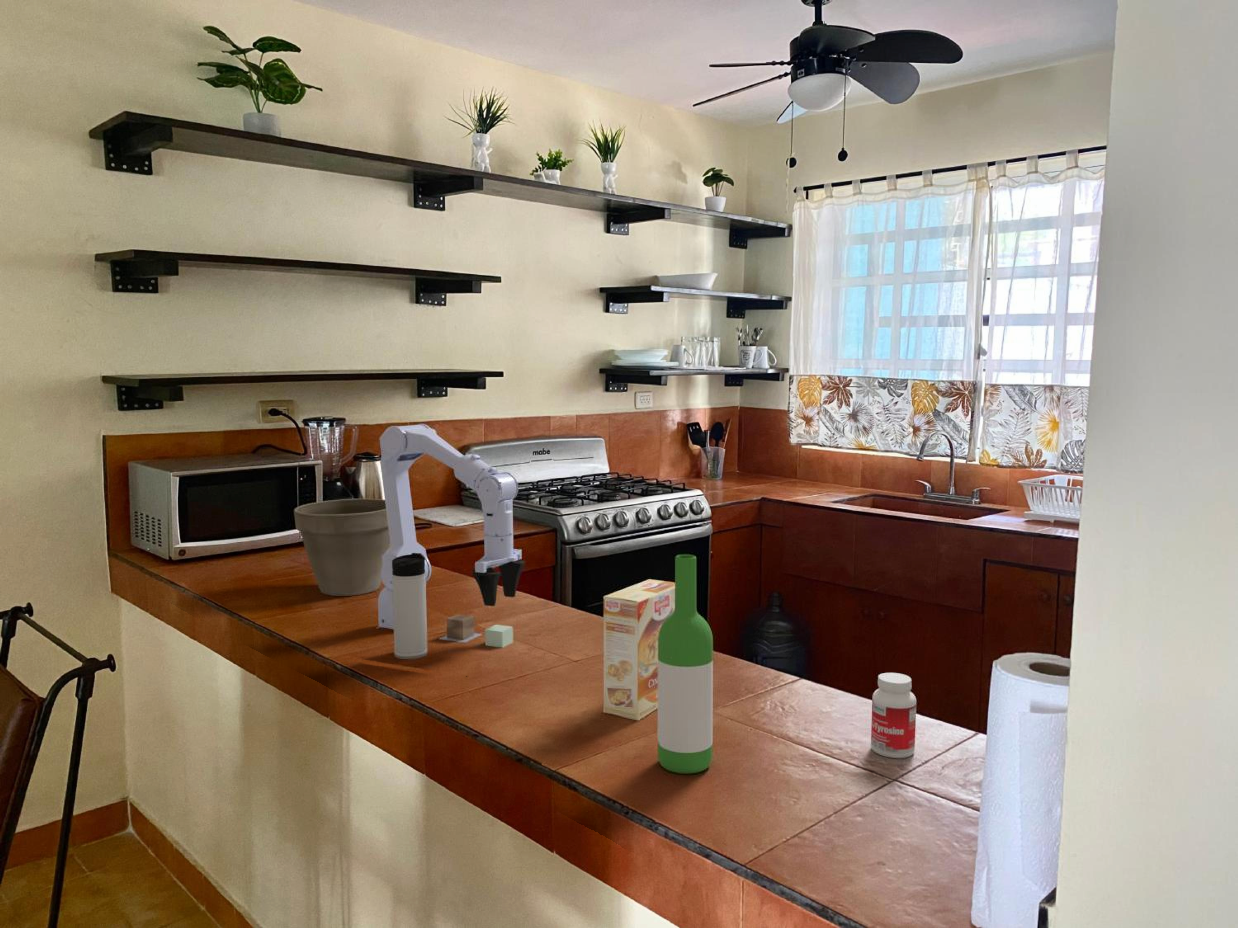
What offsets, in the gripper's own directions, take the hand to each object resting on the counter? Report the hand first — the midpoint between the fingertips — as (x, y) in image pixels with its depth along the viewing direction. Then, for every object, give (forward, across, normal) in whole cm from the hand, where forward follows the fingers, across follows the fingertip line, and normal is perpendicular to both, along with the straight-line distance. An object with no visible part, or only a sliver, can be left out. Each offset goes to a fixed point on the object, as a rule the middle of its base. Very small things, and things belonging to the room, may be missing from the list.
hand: (499, 600), depth 188 cm
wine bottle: (+10, -38, -54) cm, 66 cm away
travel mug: (+10, -13, +12) cm, 20 cm away
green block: (+10, 0, 0) cm, 10 cm away
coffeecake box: (+10, -18, -39) cm, 44 cm away
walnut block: (+9, +1, +10) cm, 13 cm away
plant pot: (+10, +26, +61) cm, 67 cm away
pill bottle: (+10, -21, -80) cm, 83 cm away
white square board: (+9, +1, +10) cm, 14 cm away
